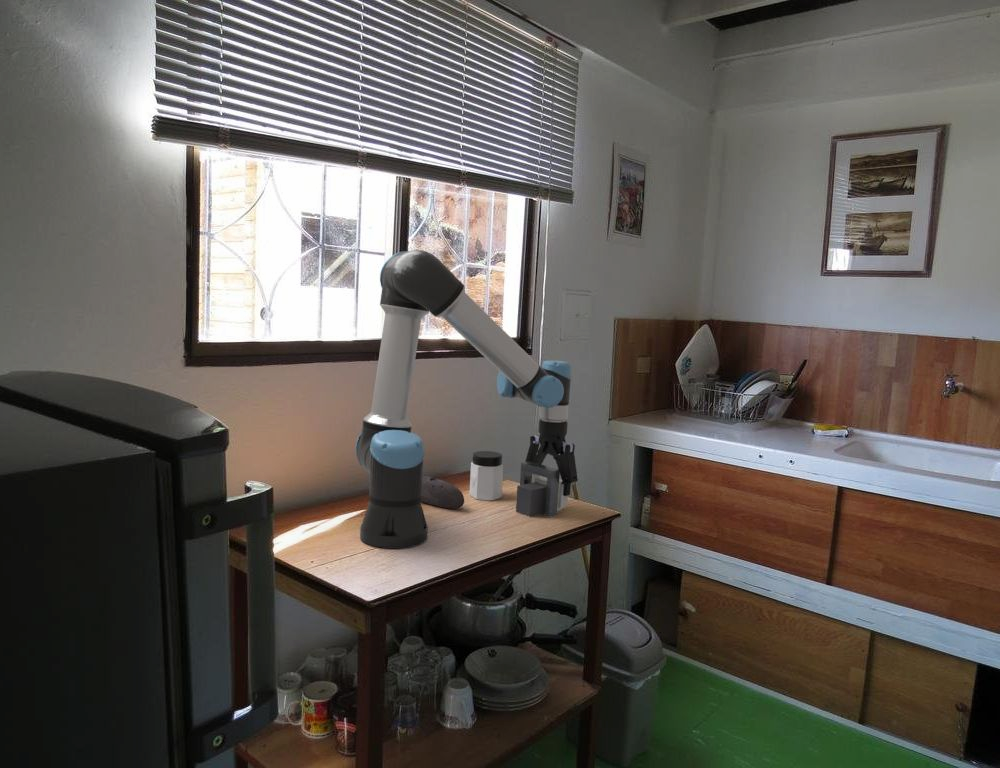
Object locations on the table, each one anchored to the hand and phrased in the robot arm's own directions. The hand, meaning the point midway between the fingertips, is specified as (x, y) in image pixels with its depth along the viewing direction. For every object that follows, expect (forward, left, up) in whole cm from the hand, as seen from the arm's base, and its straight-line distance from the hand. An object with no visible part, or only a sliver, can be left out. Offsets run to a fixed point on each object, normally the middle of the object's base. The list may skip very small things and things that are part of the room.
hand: (548, 502), depth 189 cm
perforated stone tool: (-23, +18, -2) cm, 29 cm away
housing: (-4, 0, -2) cm, 4 cm away
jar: (-7, +18, -2) cm, 19 cm away
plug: (-3, 0, -2) cm, 3 cm away
